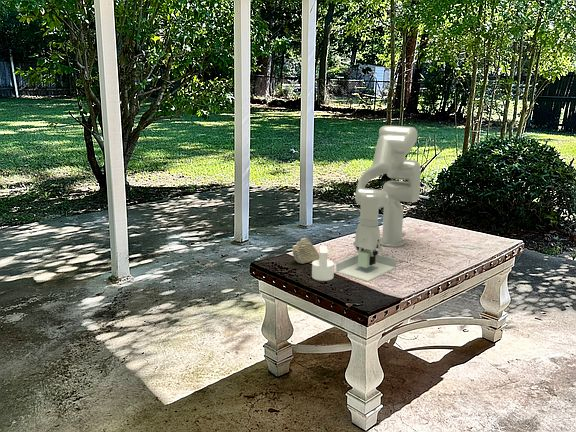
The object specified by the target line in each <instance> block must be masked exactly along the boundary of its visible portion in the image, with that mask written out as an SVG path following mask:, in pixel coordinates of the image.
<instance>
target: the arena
mask: <svg viewBox="0 0 576 432" xmlns="http://www.w3.org/2000/svg"><path fill="white" fill-rule="evenodd" d="M397 260H398V259H397V258H394V257H391V256H387V255H382V254H380V253H378V254H377V255H376V264H374V265H372V266H370V267H368V268H365V267H361V266H358V253H357V254H356V255H353V256H350V257H348V258H345V259H343V260H341V261H339V262H336V270H335V273H337V272H338V274H340V273H341V275H344V276H347V277H350V278H354V279H357V280H360V281H364V282H367V283H369V282H371V281H373V280H374V279H376V278H379V277H381V276H382V275H385V274H387V273H389V272H390V271H393V270H395V269H397ZM368 281H369V282H368Z"/></svg>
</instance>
